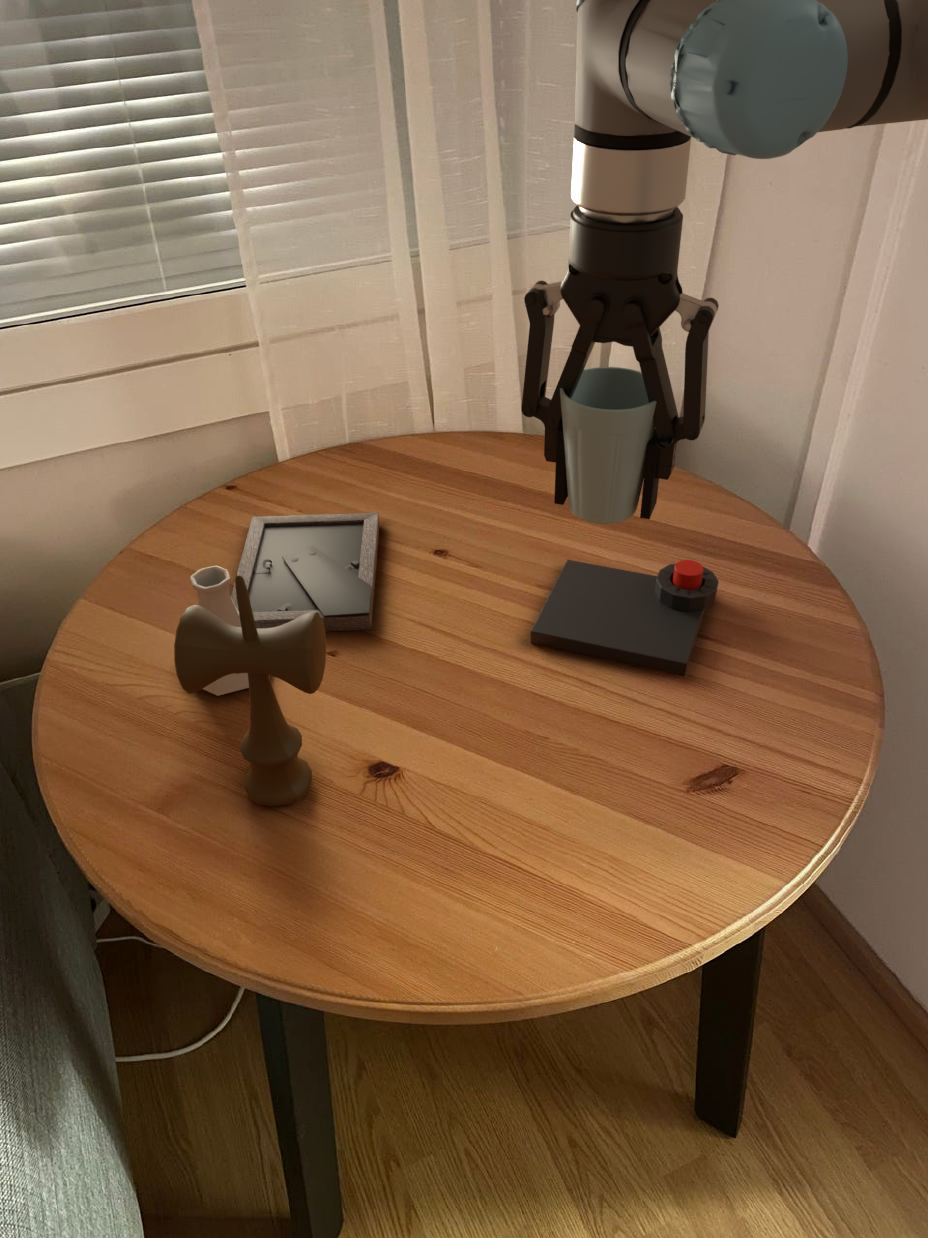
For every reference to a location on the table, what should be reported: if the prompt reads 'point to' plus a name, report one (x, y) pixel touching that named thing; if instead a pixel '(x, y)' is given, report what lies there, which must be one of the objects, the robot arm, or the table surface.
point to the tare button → (688, 574)
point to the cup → (606, 443)
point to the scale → (624, 615)
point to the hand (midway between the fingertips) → (605, 502)
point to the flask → (219, 602)
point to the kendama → (257, 686)
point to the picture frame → (311, 569)
